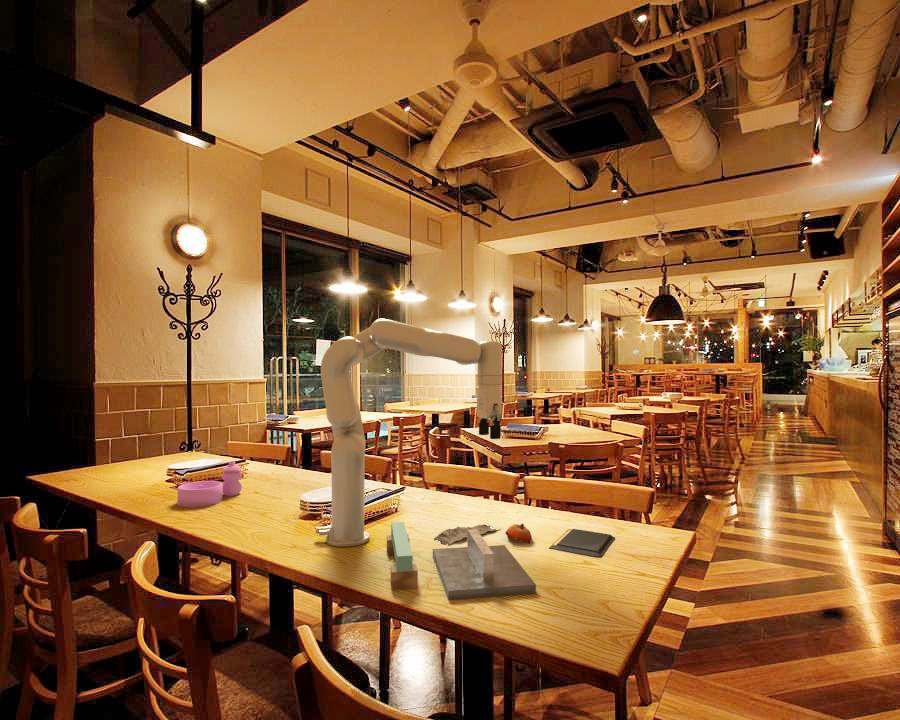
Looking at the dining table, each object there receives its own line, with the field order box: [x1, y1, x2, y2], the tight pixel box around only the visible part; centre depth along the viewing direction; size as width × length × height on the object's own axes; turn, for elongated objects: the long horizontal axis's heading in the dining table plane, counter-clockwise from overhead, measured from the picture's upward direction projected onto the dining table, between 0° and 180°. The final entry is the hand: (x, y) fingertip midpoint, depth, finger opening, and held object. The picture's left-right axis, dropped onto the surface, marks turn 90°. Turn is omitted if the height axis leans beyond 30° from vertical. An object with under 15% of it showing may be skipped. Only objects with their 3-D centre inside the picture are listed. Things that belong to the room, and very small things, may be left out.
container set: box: [177, 461, 243, 508], centre depth 195 cm, size 25×15×13 cm, turn 150°
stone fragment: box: [433, 524, 497, 546], centre depth 154 cm, size 25×3×10 cm
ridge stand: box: [432, 529, 537, 601], centre depth 123 cm, size 20×26×8 cm
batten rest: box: [386, 534, 419, 591], centre depth 127 cm, size 6×26×4 cm, turn 10°
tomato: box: [505, 523, 533, 544], centre depth 148 cm, size 8×7×7 cm
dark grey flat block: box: [548, 528, 616, 559], centre depth 146 cm, size 20×2×15 cm
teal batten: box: [390, 521, 413, 572], centre depth 127 cm, size 4×26×4 cm, turn 10°
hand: (489, 436), depth 154 cm, fingers open, 9 cm apart
